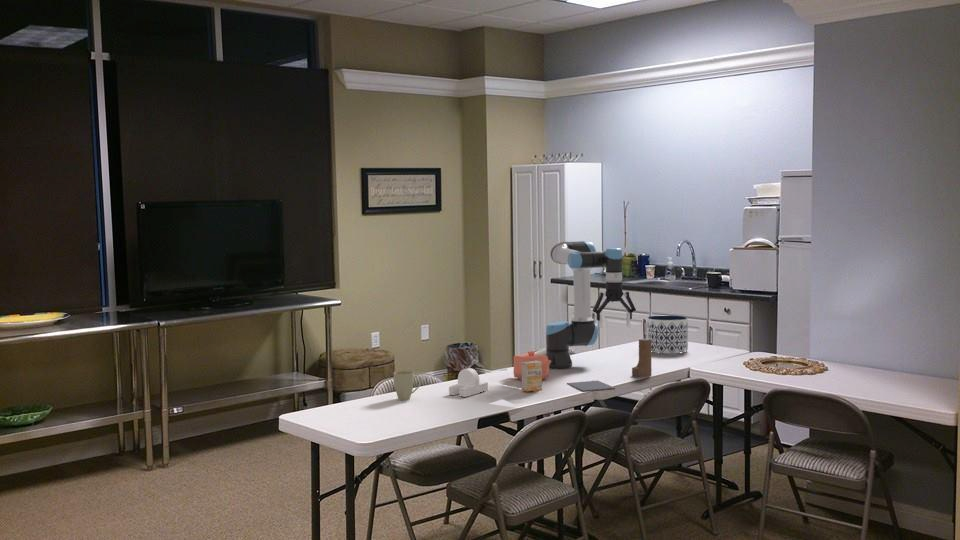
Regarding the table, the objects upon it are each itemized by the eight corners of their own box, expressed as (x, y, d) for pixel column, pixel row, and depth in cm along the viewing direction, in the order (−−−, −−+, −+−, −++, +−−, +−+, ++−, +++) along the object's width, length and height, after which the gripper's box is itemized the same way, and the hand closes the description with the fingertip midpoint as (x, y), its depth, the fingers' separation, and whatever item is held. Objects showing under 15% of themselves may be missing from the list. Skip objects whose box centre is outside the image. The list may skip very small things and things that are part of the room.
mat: (566, 384, 407) (566, 383, 407) (597, 381, 412) (597, 380, 412) (583, 391, 390) (583, 390, 390) (615, 388, 395) (615, 387, 395)
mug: (408, 402, 373) (407, 375, 372) (389, 400, 378) (389, 373, 377) (422, 398, 382) (422, 371, 381) (404, 395, 387) (404, 369, 386)
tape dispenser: (448, 394, 390) (447, 370, 389) (472, 387, 404) (472, 364, 403) (464, 397, 384) (464, 373, 383) (488, 390, 398) (488, 366, 398)
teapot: (558, 381, 414) (558, 352, 413) (541, 385, 405) (541, 355, 404) (523, 376, 429) (522, 347, 428) (506, 379, 420) (506, 351, 419)
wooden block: (638, 378, 419) (638, 341, 418) (631, 376, 423) (631, 340, 421) (651, 376, 424) (651, 339, 423) (645, 374, 428) (645, 338, 426)
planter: (647, 356, 481) (647, 320, 480) (646, 349, 503) (646, 315, 502) (689, 356, 477) (689, 320, 476) (686, 350, 499) (686, 315, 498)
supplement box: (526, 392, 391) (526, 363, 390) (521, 390, 395) (521, 361, 394) (542, 390, 395) (542, 361, 394) (537, 388, 399) (536, 360, 398)
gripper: (590, 282, 395) (590, 329, 396) (642, 281, 399) (642, 327, 400) (585, 281, 402) (586, 326, 404) (636, 280, 406) (637, 324, 408)
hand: (614, 327), depth 402 cm, fingers open, 13 cm apart
